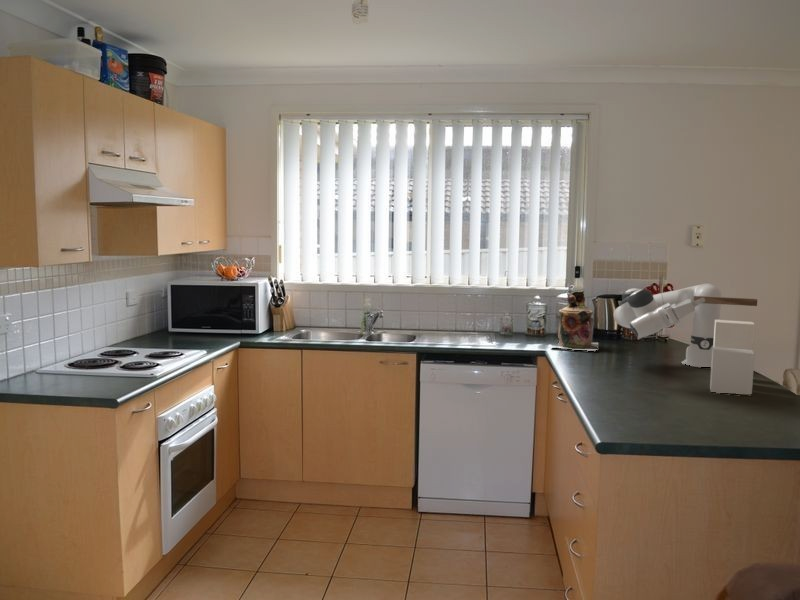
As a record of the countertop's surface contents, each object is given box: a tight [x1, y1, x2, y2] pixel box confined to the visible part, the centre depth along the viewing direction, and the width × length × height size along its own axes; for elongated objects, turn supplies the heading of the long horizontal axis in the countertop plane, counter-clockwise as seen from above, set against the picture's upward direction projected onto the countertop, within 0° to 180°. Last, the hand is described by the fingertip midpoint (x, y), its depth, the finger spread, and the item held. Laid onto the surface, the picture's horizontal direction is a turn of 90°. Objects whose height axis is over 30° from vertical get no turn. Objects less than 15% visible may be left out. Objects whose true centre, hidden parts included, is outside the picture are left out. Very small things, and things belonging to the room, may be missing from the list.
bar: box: [694, 296, 758, 307], centre depth 253 cm, size 3×22×2 cm, turn 67°
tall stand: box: [713, 319, 756, 352], centre depth 268 cm, size 10×14×26 cm
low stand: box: [709, 347, 756, 394], centre depth 254 cm, size 10×14×16 cm
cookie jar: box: [551, 289, 599, 352], centre depth 353 cm, size 25×25×32 cm
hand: (704, 298), depth 256 cm, fingers closed on bar, 3 cm apart
